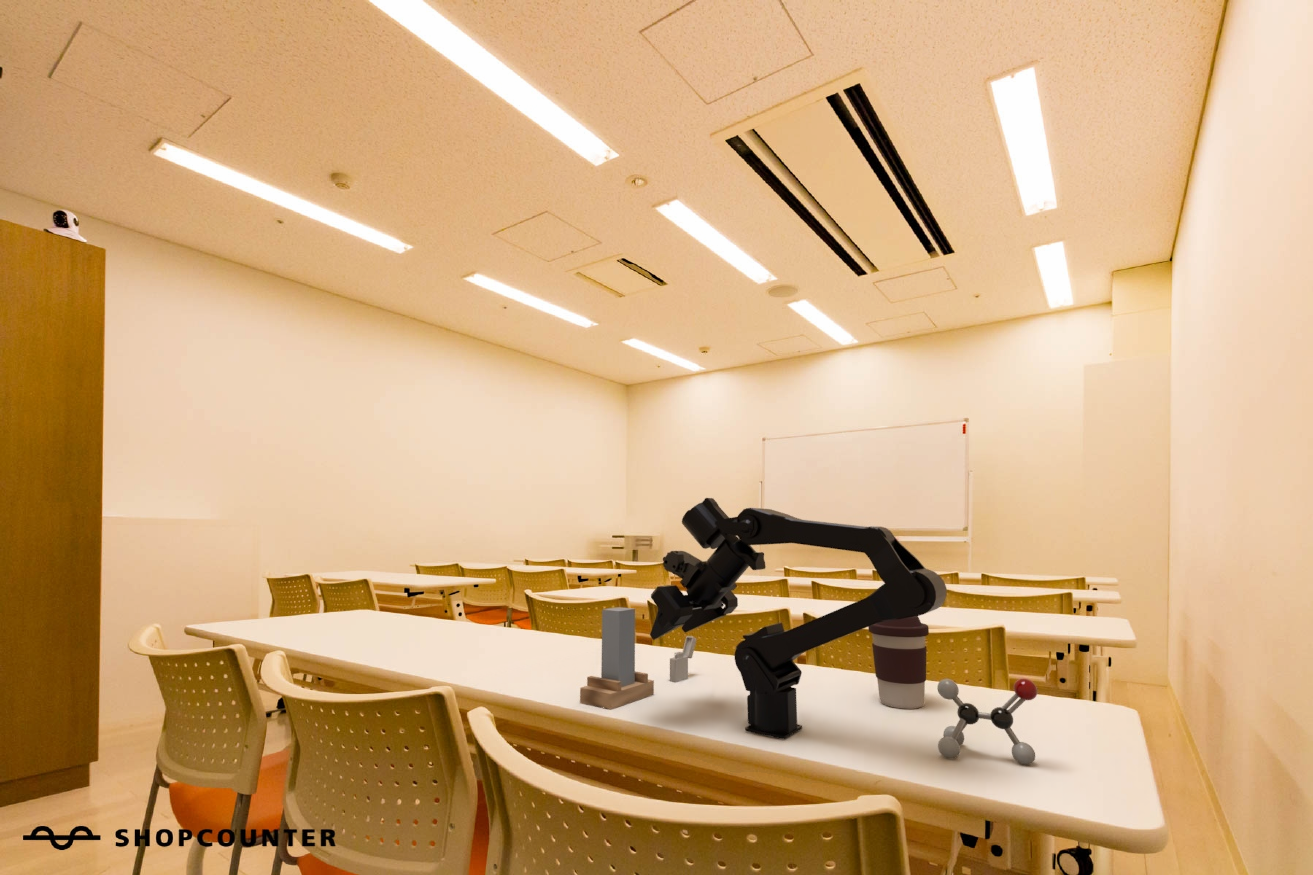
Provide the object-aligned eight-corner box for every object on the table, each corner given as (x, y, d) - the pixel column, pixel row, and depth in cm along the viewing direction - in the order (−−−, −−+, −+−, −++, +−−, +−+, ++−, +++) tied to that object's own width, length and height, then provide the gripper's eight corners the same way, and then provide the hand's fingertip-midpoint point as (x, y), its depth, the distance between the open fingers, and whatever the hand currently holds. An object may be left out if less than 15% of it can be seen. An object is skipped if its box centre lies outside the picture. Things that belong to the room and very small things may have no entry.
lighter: (676, 682, 125) (676, 640, 126) (669, 680, 126) (669, 639, 127) (697, 675, 131) (696, 635, 132) (690, 674, 132) (689, 634, 133)
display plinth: (653, 694, 116) (653, 671, 116) (610, 709, 106) (610, 684, 107) (624, 688, 120) (624, 666, 120) (580, 702, 110) (580, 678, 111)
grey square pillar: (634, 683, 114) (635, 608, 116) (618, 688, 110) (619, 611, 112) (617, 679, 116) (618, 607, 118) (601, 684, 113) (602, 609, 114)
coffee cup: (946, 708, 107) (940, 616, 109) (899, 714, 103) (895, 619, 106) (903, 694, 116) (899, 610, 118) (859, 699, 112) (855, 612, 115)
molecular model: (945, 741, 90) (940, 663, 92) (1043, 757, 84) (1036, 673, 86) (937, 759, 83) (932, 674, 85) (1043, 777, 77) (1036, 686, 79)
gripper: (721, 534, 115) (672, 593, 120) (660, 534, 100) (607, 602, 105) (761, 579, 109) (708, 640, 114) (703, 587, 94) (645, 657, 99)
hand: (668, 633), depth 108 cm, fingers open, 9 cm apart
